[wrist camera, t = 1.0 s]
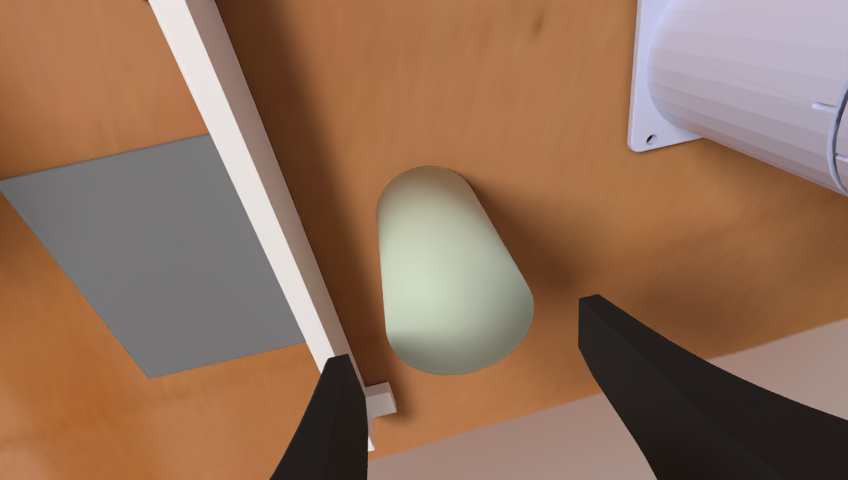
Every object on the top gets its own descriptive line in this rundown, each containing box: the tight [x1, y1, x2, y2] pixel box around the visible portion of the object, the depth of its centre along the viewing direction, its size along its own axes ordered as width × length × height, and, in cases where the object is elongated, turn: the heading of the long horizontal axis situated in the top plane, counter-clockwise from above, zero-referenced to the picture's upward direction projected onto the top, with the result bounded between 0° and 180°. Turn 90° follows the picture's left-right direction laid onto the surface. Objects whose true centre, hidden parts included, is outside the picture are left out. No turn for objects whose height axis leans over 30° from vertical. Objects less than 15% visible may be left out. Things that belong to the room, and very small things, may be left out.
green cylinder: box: [377, 166, 534, 375], centre depth 17 cm, size 5×5×8 cm
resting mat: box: [0, 133, 306, 379], centre depth 20 cm, size 9×12×1 cm
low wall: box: [149, 0, 396, 451], centre depth 19 cm, size 4×26×3 cm, turn 11°
